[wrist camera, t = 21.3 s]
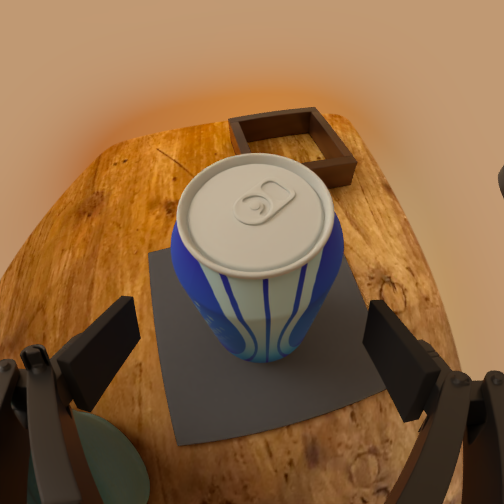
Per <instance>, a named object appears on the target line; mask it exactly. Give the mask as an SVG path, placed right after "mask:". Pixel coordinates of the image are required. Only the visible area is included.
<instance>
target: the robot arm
mask: <svg viewBox="0 0 504 504" xmlns="http://www.w3.org/2000/svg"><path fill="white" fill-rule="evenodd" d="M140 339H141V337H140V332H139V327H138V322H137V316H136V311H135V305H134V299H133V297H131V296H121V297H120V298H119V299H118V300H117V301H116V302H114V303H113V304H112V305H111V306H110V307H109V308H108V309H107V310H106V311H105V312H104V313H103V314H102V315H101V316H100V317H98V318H97V319H96V320H95V321H94V322H93V323H92V324H91V325H90V326H89V327H88V328H87V329H86V330H85V331H84V332H83V333H80V334H78V335H76V336H74V337H72V338H71V339H70V340H69V341H68V342H67V344H65V345H64V346H63V347H62V348H61V349H60V350H59V351H58V352H57V353H56V354H55V355H54V356H53V357H52V358H51V359H49V357H48V354H47V352H46V349H45V347H44V346H43V345H39V344H36V345H31V346H28V347H26V348H25V349H23V350H22V352H21V354H20V356H21V359H22V361H23V363H24V366H25V368H26V369H18V367H17V364H16V362H15V361H14V360H13V359H4V360H1V361H0V504H27V483H28V468H29V458H30V450H31V454H32V461H33V467H34V472H35V477H36V482H37V487H38V491H39V495H40V499H41V504H104V502H103V500H102V498H101V496H100V493H99V491H98V489H97V486H96V484H95V481H94V479H93V476H92V474H91V471H90V468H89V465H88V463H87V460H86V457H85V454H84V451H83V448H82V445H81V441H80V438H79V435H78V431H77V427H76V424H75V420H74V416H73V412H72V409H71V407H70V405H69V404H70V402H71V401H72V399H73V400H74V402H75V404H76V406H77V408H79V409H82V410H85V411H88V412H91V411H92V410H93V408H94V407H95V405H96V404H97V402H98V401H99V399H100V398H101V396H102V395H103V393H104V391H105V390H106V388H107V387H108V385H109V384H110V382H111V381H112V379H113V378H114V376H115V375H116V373H117V372H118V371H119V369H120V368H121V366H122V365H123V363H124V362H125V360H126V359H127V357H128V356H129V354H130V353H131V351H132V350H133V349H134V347H135V346H136V344H137V343H138V341H139V340H140ZM362 343H363V345H364V347H365V349H366V351H367V352H368V354H369V356H370V358H371V360H372V362H373V364H374V365H375V367H376V369H377V371H378V373H379V375H380V377H381V379H382V381H383V382H384V384H385V386H386V388H387V390H388V392H389V394H390V396H391V398H392V400H393V402H394V404H395V406H396V408H397V410H398V412H399V414H400V416H401V418H402V420H403V422H404V423H405V422H409V421H413V420H417V419H419V417H420V416H421V414H422V412H423V410H424V411H425V412H426V414H427V416H426V418H425V420H424V422H423V424H422V426H421V427H420V429H419V431H418V432H420V433H419V435H418V438H417V440H416V442H415V445H414V447H413V449H412V451H411V454H410V456H409V458H408V460H407V462H406V464H405V466H404V468H403V470H402V472H401V474H400V476H399V478H398V480H397V482H396V484H395V485H394V487H393V489H392V491H391V493H390V494H389V496H388V498H387V499H386V501H385V503H384V504H442V503H443V501H444V498H445V496H446V493H447V490H448V488H449V485H450V482H451V479H452V476H453V473H454V470H455V466H456V463H457V459H458V456H459V452H460V448H461V444H462V440H463V489H462V502H461V504H504V374H503V373H502V372H500V371H490V372H488V373H487V374H486V376H485V378H484V380H483V381H472V380H471V378H470V377H469V376H468V375H467V374H465V373H463V372H460V371H452V370H451V369H450V368H449V366H448V365H447V364H446V363H445V362H444V360H443V359H442V358H441V357H439V354H438V353H437V352H435V350H434V349H433V347H432V346H431V345H430V344H428V343H427V342H425V341H423V340H417V339H416V338H415V337H414V336H413V334H412V333H411V332H410V331H409V330H408V328H407V327H406V326H405V325H404V324H403V323H402V322H401V320H400V319H399V318H398V317H397V316H396V315H395V313H394V312H393V311H392V310H391V309H390V308H389V307H388V306H387V304H386V303H385V302H384V301H383V300H370V305H369V310H368V316H367V321H366V327H365V332H364V337H363V341H362ZM11 404H12V407H11Z"/></svg>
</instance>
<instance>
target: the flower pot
mask: <svg viewBox="0 0 504 504" xmlns="http://www.w3.org/2000/svg"><path fill="white" fill-rule="evenodd" d="M11 407H12V404H11ZM72 412H73V416H74V420H75V424H76V427H77V431H78V435H79V438H80V441H81V445H82V448H83V451H84V454H85V457H86V460H87V463H88V465H89V468H90V471H91V474H92V476H93V479H94V481H95V484H96V486H97V489H98V491H99V493H100V496H101V498H102V500H103V502H104V504H147V501H148V498H149V493H150V482H149V477H148V473H147V470H146V467H145V465H144V463H143V461H142V459H141V457H140V455H139V453H138V452H137V450H136V449H135V447H134V446H133V445H132V443H131V442H130V441H129V440H128V438H127V437H126V436H125V435H124V434H123V433H122V432H121V431H119V430H118V429H117V428H116V427H115V426H114V425H112V424H111V423H109V422H108V421H106V420H105V419H103V418H101V417H99V416H96V415H94V414H90V413H85V412H78V411H76V410H74V409H72ZM27 504H41V499H40V495H39V491H38V487H37V482H36V477H35V472H34V467H33V461H32V454H31V450H30V458H29V468H28V483H27Z"/></svg>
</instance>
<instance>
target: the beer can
mask: <svg viewBox="0 0 504 504" xmlns="http://www.w3.org/2000/svg"><path fill="white" fill-rule="evenodd" d="M343 251H344V240H343V233H342V229H341V225H340V222H339V219H338V217H337V215H336V213H335V211H334V205H333V201H332V197H331V195H330V193H329V191H328V189H327V187H326V185H325V184H324V183H323V181H322V180H321V179H320V178H319V177H318V176H317V175H316V174H315V173H314V172H313V171H311V170H310V169H309V168H307V167H306V166H304V165H303V164H301V163H299V162H297V161H294V160H292V159H289V158H287V157H283V156H279V155H274V154H266V153H248V154H241V155H236V156H232V157H228V158H225V159H223V160H220V161H218V162H216V163H214V164H212V165H210V166H208V167H207V168H205V169H204V170H202V171H201V172H200V173H199V174H197V175H196V176H195V177H194V178H193V179H192V180H191V182H190V183H189V184H188V185H187V187H186V188H185V190H184V192H183V193H182V195H181V198H180V200H179V204H178V208H177V220H176V223H175V225H174V228H173V232H172V238H171V258H172V263H173V267H174V270H175V272H176V275H177V277H178V279H179V281H180V283H181V285H182V286H183V288H184V289H185V291H186V292H187V294H188V295H189V297H190V298H191V300H192V301H193V303H194V305H195V306H196V308H197V309H198V310H199V312H200V313H201V315H202V316H203V318H204V319H205V321H206V322H207V324H208V325H209V327H210V328H211V330H212V331H213V332H214V334H215V335H216V337H217V338H218V340H219V341H220V342H221V344H222V345H223V346H224V347H225V348H226V349H227V350H228V351H229V352H230V353H231V354H233V355H234V356H236V357H238V358H240V359H243V360H245V361H249V362H255V363H267V362H272V361H276V360H279V359H281V358H283V357H286V356H287V355H289V354H290V353H291V352H293V351H294V350H295V349H296V348H297V347H298V346H299V345H300V344H301V342H302V341H303V339H304V337H305V335H306V334H307V332H308V330H309V328H310V326H311V325H312V323H313V321H314V319H315V317H316V315H317V313H318V312H319V310H320V308H321V306H322V304H323V302H324V300H325V298H326V296H327V294H328V292H329V290H330V288H331V286H332V284H333V282H334V280H335V278H336V276H337V274H338V272H339V269H340V266H341V263H342V258H343Z"/></svg>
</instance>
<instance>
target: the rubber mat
mask: <svg viewBox="0 0 504 504" xmlns="http://www.w3.org/2000/svg"><path fill="white" fill-rule="evenodd" d="M148 258H149V273H150V285H151V296H152V306H153V315H154V323H155V331H156V338H157V345H158V352H159V358H160V365H161V371H162V376H163V382H164V387H165V392H166V397H167V402H168V407H169V412H170V416H171V421H172V425H173V429H174V433H175V437H176V441H177V445H178V446H181V445H190V444H198V443H205V442H212V441H218V440H224V439H230V438H235V437H240V436H245V435H250V434H255V433H259V432H263V431H267V430H271V429H275V428H279V427H283V426H287V425H290V424H294V423H297V422H300V421H304V420H307V419H310V418H313V417H316V416H319V415H322V414H325V413H328V412H331V411H334V410H337V409H339V408H342V407H345V406H347V405H350V404H352V403H355V402H357V401H360V400H362V399H365V398H367V397H369V396H372V395H374V394H376V393H379V392H381V391H383V390H385V389H387V388H386V386H385V384H384V382H383V381H382V379H381V377H380V375H379V373H378V371H377V369H376V367H375V365H374V364H373V362H372V360H371V358H370V356H369V354H368V352H367V351H366V349H365V347H364V345H363V343H362V341H363V337H364V332H365V327H366V321H367V316H368V310H367V307H366V305H365V302H364V300H363V298H362V295H361V293H360V290H359V288H358V285H357V283H356V281H355V278H354V276H353V274H352V271H351V269H350V267H349V265H348V262H347V260H346V258H345V256H344V253H343V258H342V263H341V266H340V269H339V272H338V274H337V276H336V278H335V280H334V282H333V284H332V286H331V288H330V290H329V292H328V294H327V296H326V298H325V300H324V302H323V304H322V306H321V308H320V310H319V312H318V313H317V315H316V317H315V319H314V321H313V323H312V325H311V326H310V328H309V330H308V332H307V334H306V335H305V337H304V339H303V341H302V342H301V344H300V345H299V346H298V347H297V348H296V349H295V350H294V351H293V352H291V353H290V354H289V355H287V356H286V357H283V358H281V359H279V360H276V361H272V362H267V363H255V362H249V361H245V360H243V359H240V358H238V357H236V356H234V355H233V354H231V353H230V352H229V351H228V350H227V349H226V348H225V347H224V346H223V345H222V344H221V342H220V341H219V340H218V338H217V337H216V335H215V334H214V332H213V331H212V330H211V328H210V327H209V325H208V324H207V322H206V321H205V319H204V318H203V316H202V315H201V313H200V312H199V310H198V309H197V308H196V306H195V305H194V303H193V301H192V300H191V298H190V297H189V295H188V294H187V292H186V291H185V289H184V288H183V286H182V285H181V283H180V281H179V279H178V277H177V275H176V272H175V270H174V267H173V263H172V258H171V247H170V248H166V249H162V250H158V251H154V252H150V253H148Z"/></svg>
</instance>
